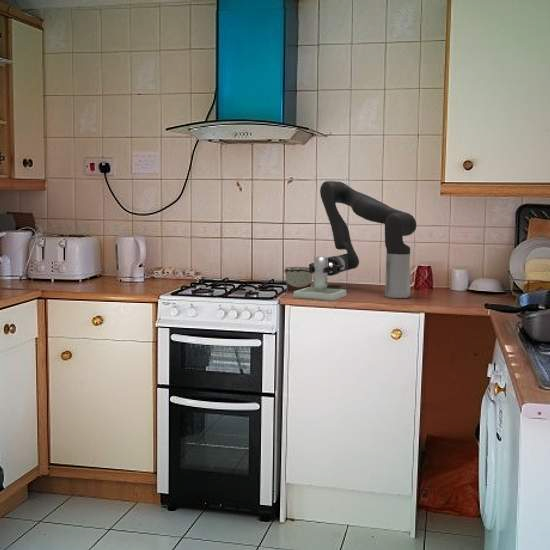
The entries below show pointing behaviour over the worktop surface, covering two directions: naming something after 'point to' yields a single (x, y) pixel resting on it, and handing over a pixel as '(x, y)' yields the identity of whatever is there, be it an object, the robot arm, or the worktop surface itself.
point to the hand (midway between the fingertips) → (318, 269)
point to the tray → (320, 294)
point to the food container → (298, 278)
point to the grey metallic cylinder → (320, 274)
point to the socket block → (337, 287)
